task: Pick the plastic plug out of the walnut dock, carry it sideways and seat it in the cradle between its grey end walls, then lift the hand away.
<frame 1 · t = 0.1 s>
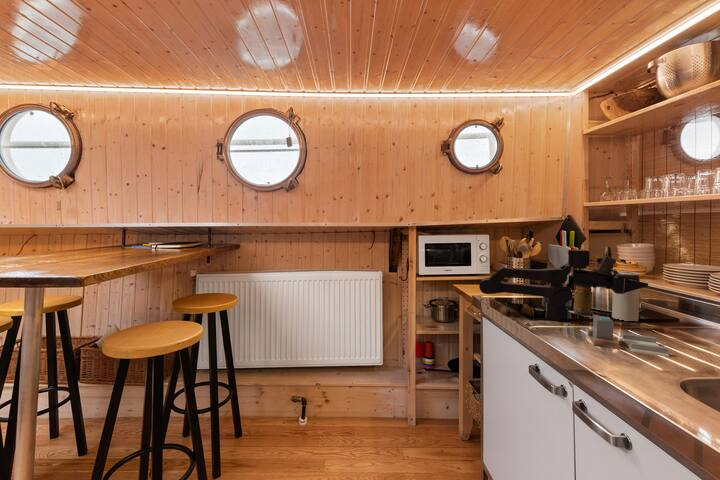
hand: (643, 282, 113), 17 cm above the counter, tool horizontal, fingers open, 9 cm apart
travel mug: (624, 319, 128), on the counter
condiment: (583, 314, 134), on the counter
plug: (602, 341, 103), resting on walnut dock
walnut dock: (602, 342, 103), on the counter
supplement bottle: (551, 307, 145), on the counter
cradle: (643, 347, 99), on the counter
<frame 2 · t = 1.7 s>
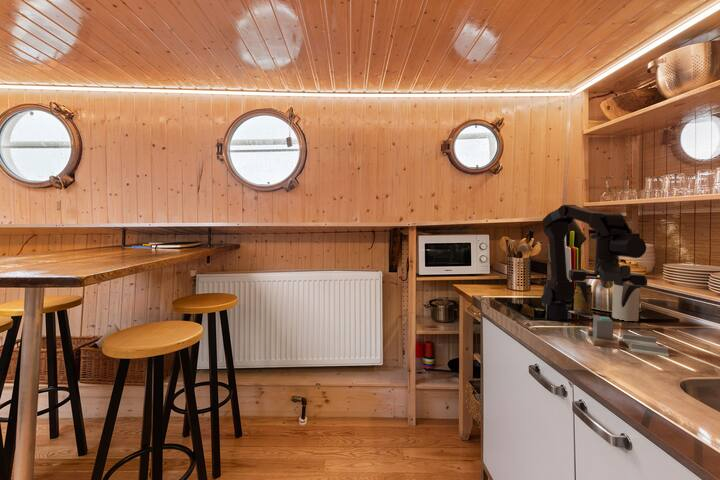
hand: (604, 305, 102), 12 cm above the counter, tool pointing down, fingers open, 9 cm apart
nothing on the counter moved.
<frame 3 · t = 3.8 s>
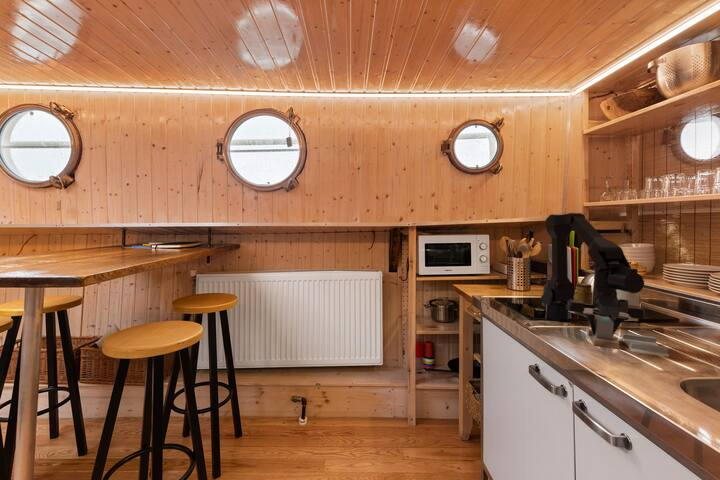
hand: (602, 336, 103), 2 cm above the counter, tool pointing down, fingers closed on plug, 4 cm apart
plug: (602, 341, 103), resting on walnut dock, touching gripper
everything else where it was.
when the fingers open (3 cm above the counter, at t = 8.9 s): plug stays where it is, resting on cradle.
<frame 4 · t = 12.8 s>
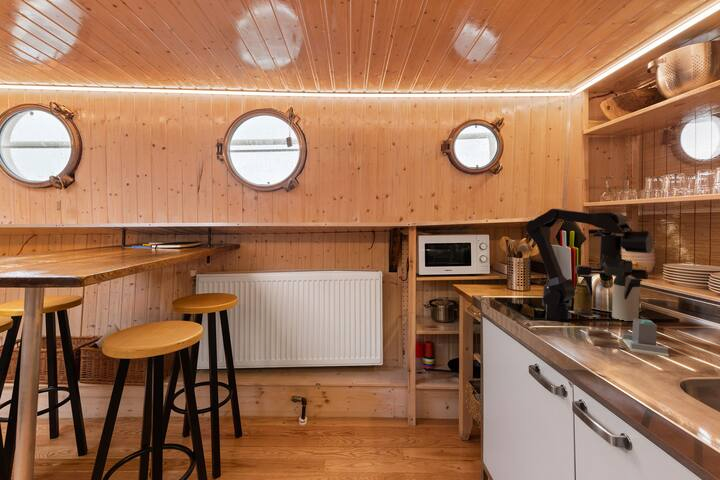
hand: (608, 297, 111), 12 cm above the counter, tool pointing down, fingers open, 9 cm apart
plug: (643, 345, 98), point 1 cm above the counter, touching cradle
everything else where it was.
at the end: plug 0.0 cm off-centre on the cradle, point 0.8 cm above the cradle's base; plug tilted 0°; the gripper is holding nothing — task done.
